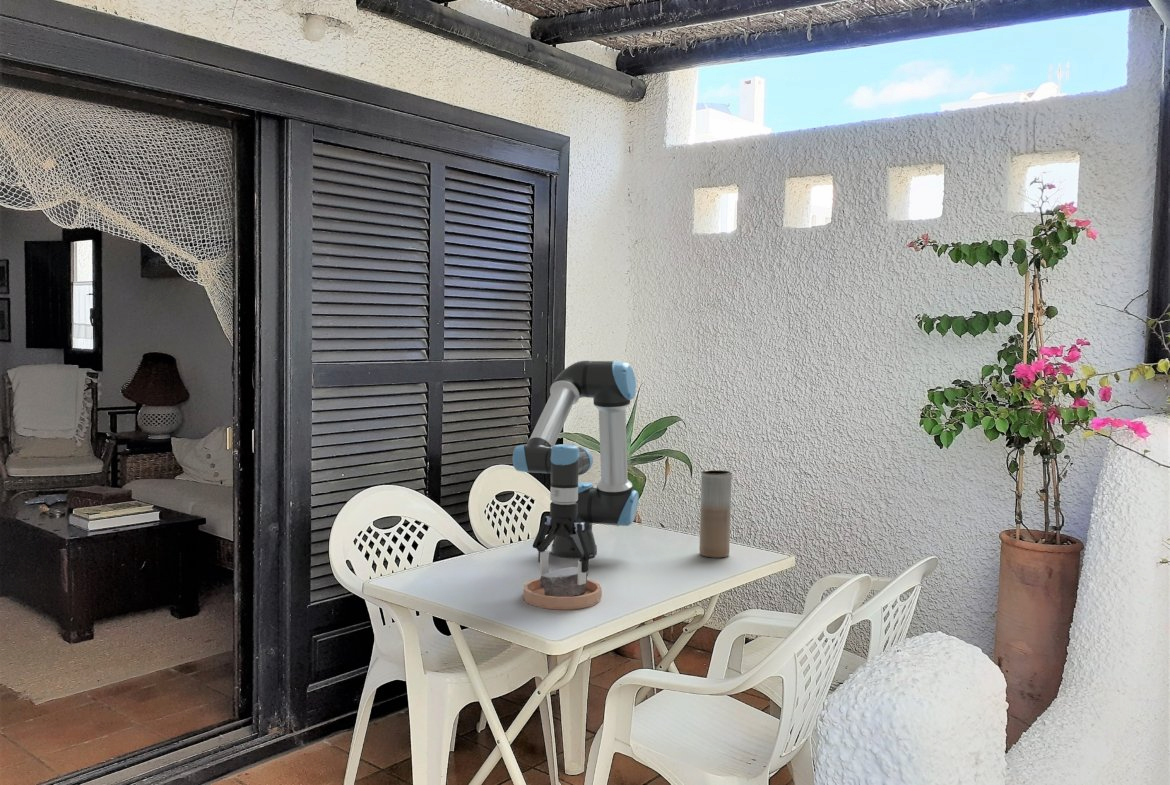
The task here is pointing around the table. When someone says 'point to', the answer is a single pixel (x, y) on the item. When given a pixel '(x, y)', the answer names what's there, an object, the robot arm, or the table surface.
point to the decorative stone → (563, 583)
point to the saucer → (539, 599)
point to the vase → (715, 513)
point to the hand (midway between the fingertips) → (562, 579)
